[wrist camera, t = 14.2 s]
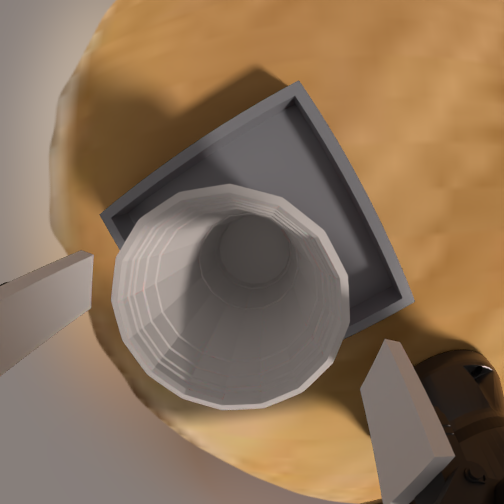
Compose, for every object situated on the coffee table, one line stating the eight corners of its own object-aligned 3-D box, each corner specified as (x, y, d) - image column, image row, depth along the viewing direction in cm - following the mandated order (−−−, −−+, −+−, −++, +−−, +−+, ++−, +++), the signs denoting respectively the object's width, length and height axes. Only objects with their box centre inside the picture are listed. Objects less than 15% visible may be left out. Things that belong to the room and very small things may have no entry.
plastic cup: (355, 257, 24) (401, 332, 12) (251, 335, 26) (222, 439, 15) (261, 147, 22) (229, 124, 11) (163, 240, 25) (73, 294, 14)
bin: (401, 285, 24) (415, 301, 21) (226, 369, 29) (218, 391, 25) (298, 92, 22) (298, 80, 18) (121, 208, 26) (99, 214, 23)
